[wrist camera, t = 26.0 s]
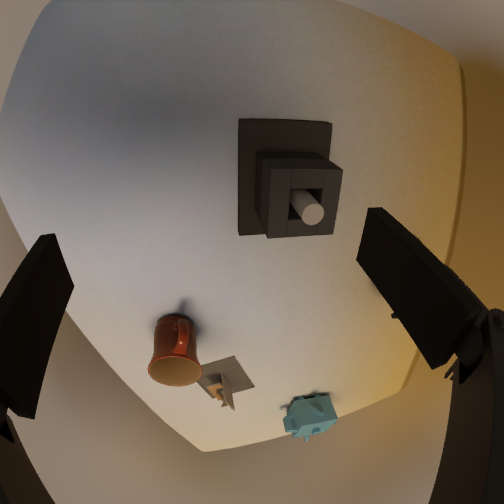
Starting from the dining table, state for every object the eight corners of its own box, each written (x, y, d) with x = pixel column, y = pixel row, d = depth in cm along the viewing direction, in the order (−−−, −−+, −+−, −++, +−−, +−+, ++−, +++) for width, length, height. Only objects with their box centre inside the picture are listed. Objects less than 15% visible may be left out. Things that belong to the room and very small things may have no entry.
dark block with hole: (256, 151, 35) (262, 159, 31) (316, 152, 36) (328, 160, 33) (254, 209, 39) (260, 223, 36) (310, 207, 40) (321, 219, 37)
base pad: (238, 118, 33) (256, 134, 24) (328, 121, 35) (376, 141, 25) (237, 230, 42) (252, 283, 32) (316, 226, 44) (349, 272, 34)
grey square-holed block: (262, 158, 31) (270, 168, 28) (328, 159, 33) (343, 169, 29) (260, 222, 36) (267, 238, 32) (320, 219, 37) (333, 234, 34)
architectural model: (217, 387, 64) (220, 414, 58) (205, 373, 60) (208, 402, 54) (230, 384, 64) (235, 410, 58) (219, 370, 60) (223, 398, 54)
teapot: (338, 383, 74) (352, 415, 64) (319, 411, 83) (329, 440, 74) (286, 390, 70) (296, 427, 61) (272, 418, 80) (280, 449, 70)
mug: (193, 344, 54) (195, 389, 45) (148, 337, 51) (145, 382, 42) (209, 300, 48) (214, 347, 40) (158, 290, 45) (153, 338, 37)
